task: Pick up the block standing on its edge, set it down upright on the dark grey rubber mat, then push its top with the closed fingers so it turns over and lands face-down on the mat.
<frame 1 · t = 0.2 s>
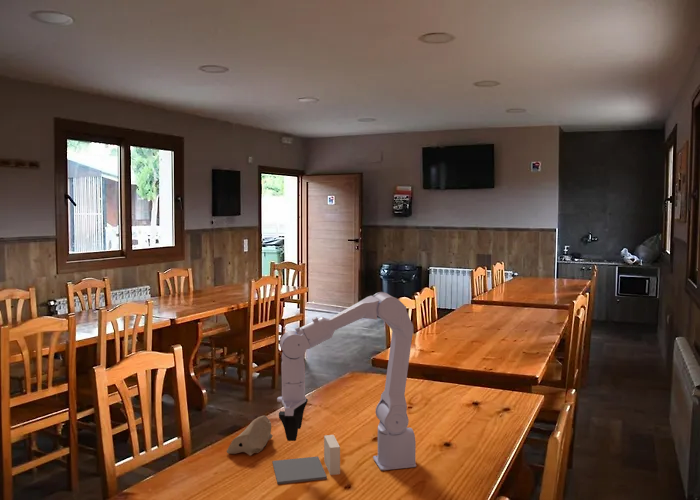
hand: (294, 434, 148), 10 cm above the table, tool pointing down, fingers open, 7 cm apart
grey animal figurine: (250, 449, 164), on the table
block: (332, 467, 152), on the table
mat: (298, 470, 150), on the table
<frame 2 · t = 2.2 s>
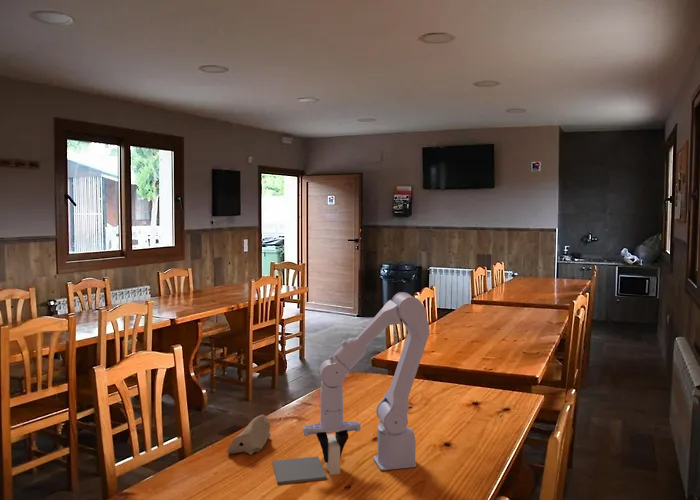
hand: (331, 460, 152), 2 cm above the table, tool pointing down, fingers closed on block, 2 cm apart
block: (331, 467, 152), on the table, touching gripper
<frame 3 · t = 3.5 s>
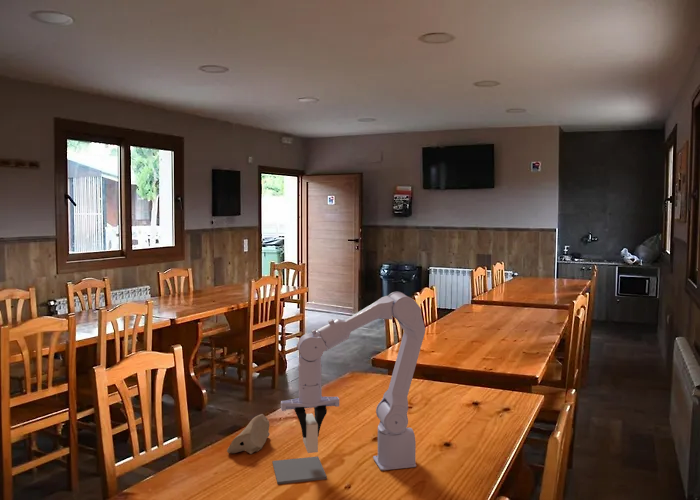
hand: (310, 435, 150), 9 cm above the table, tool pointing down, fingers closed on block, 2 cm apart
block: (310, 446, 151), point 6 cm above the table, touching gripper
when the fingers open (3 cm above the table, at t = 4.7 s): block stays where it is, resting on mat.
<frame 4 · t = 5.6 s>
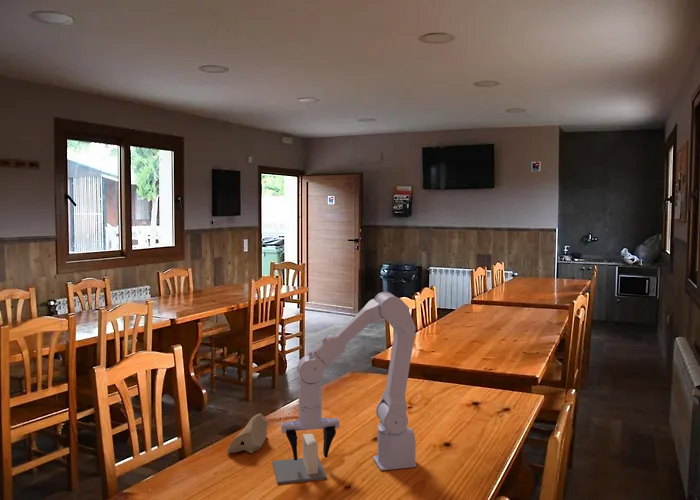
hand: (310, 457, 151), 3 cm above the table, tool pointing down, fingers open, 7 cm apart
block: (310, 466, 151), point 1 cm above the table, touching mat
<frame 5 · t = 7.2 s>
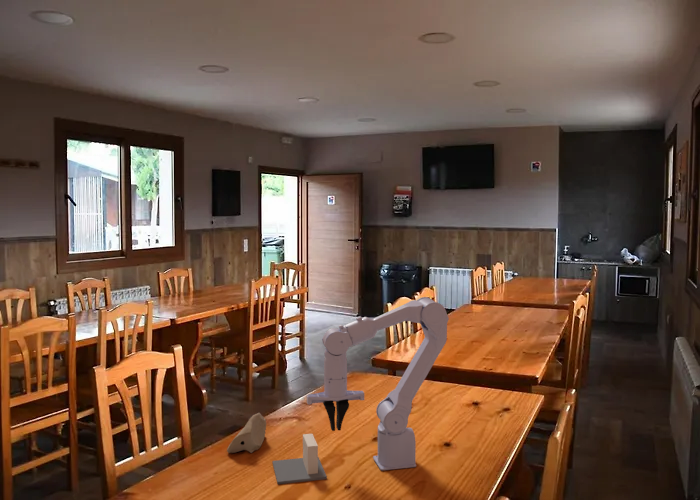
hand: (335, 429, 151), 10 cm above the table, tool pointing down, fingers closed
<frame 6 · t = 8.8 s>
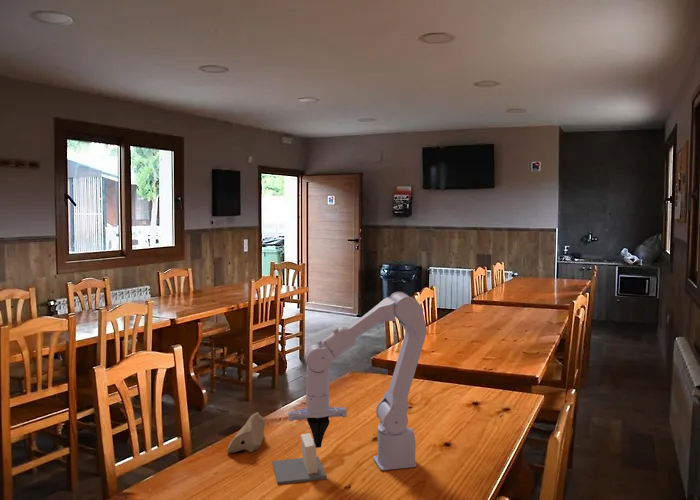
hand: (317, 446, 151), 6 cm above the table, tool pointing down, fingers closed
block: (310, 466, 151), point 1 cm above the table, touching gripper, mat
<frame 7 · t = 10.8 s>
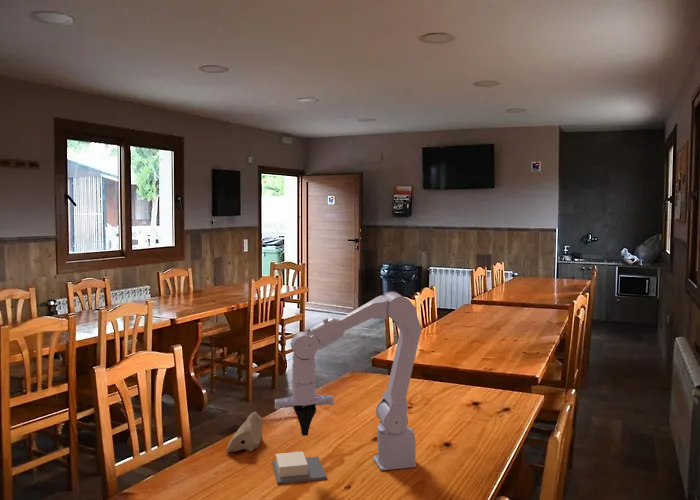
hand: (304, 434, 150), 9 cm above the table, tool pointing down, fingers closed
block: (305, 462, 151), point 2 cm above the table, tilted 90°, touching mat
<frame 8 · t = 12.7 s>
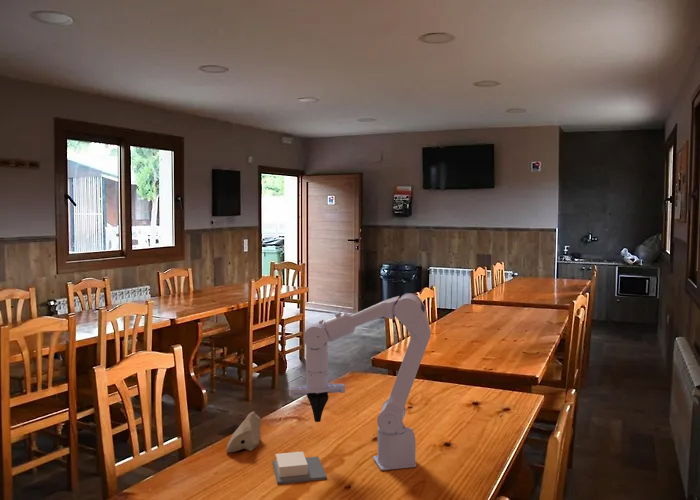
hand: (317, 420, 157), 10 cm above the table, tool pointing down, fingers closed
at the end: block tilted 90°; block inside the target area (2.2 cm from its centre), point 1.8 cm above the table; the gripper is holding nothing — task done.
